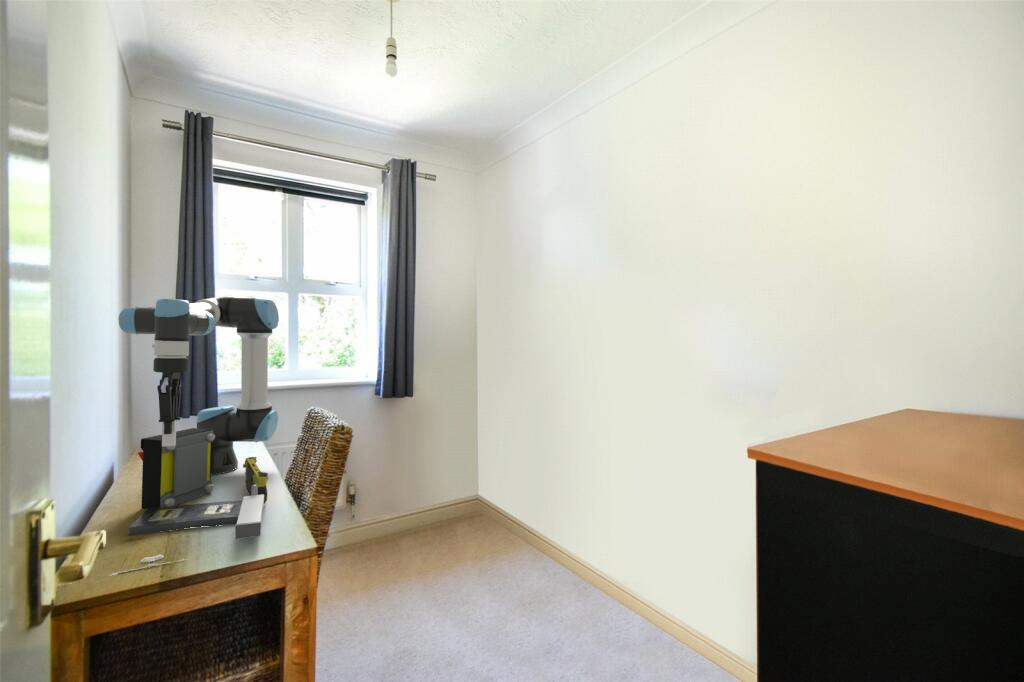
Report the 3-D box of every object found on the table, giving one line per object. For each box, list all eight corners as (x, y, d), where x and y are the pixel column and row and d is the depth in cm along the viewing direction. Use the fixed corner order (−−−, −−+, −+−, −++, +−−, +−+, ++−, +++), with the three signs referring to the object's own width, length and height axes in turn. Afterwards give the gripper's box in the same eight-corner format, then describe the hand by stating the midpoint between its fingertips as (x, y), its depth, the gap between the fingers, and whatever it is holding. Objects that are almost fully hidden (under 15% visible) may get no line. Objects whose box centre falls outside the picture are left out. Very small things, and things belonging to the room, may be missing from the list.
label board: (148, 515, 129) (149, 486, 129) (260, 505, 139) (260, 478, 139) (128, 535, 116) (129, 502, 116) (253, 522, 126) (254, 492, 126)
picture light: (108, 578, 97) (108, 568, 97) (111, 570, 100) (111, 560, 100) (190, 561, 105) (191, 552, 105) (190, 554, 108) (190, 545, 108)
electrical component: (165, 511, 132) (167, 440, 132) (135, 508, 134) (137, 438, 134) (216, 492, 149) (218, 429, 150) (189, 489, 152) (191, 427, 152)
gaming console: (241, 486, 156) (242, 456, 156) (255, 484, 159) (256, 455, 159) (252, 510, 136) (253, 475, 136) (268, 507, 138) (269, 473, 138)
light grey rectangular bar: (243, 507, 130) (243, 496, 130) (264, 505, 132) (264, 493, 132) (235, 539, 110) (235, 525, 110) (260, 535, 112) (260, 522, 112)
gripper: (162, 356, 130) (159, 441, 130) (145, 358, 118) (142, 452, 118) (194, 356, 133) (191, 439, 133) (181, 358, 120) (178, 450, 120)
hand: (168, 445), depth 125 cm, fingers closed
